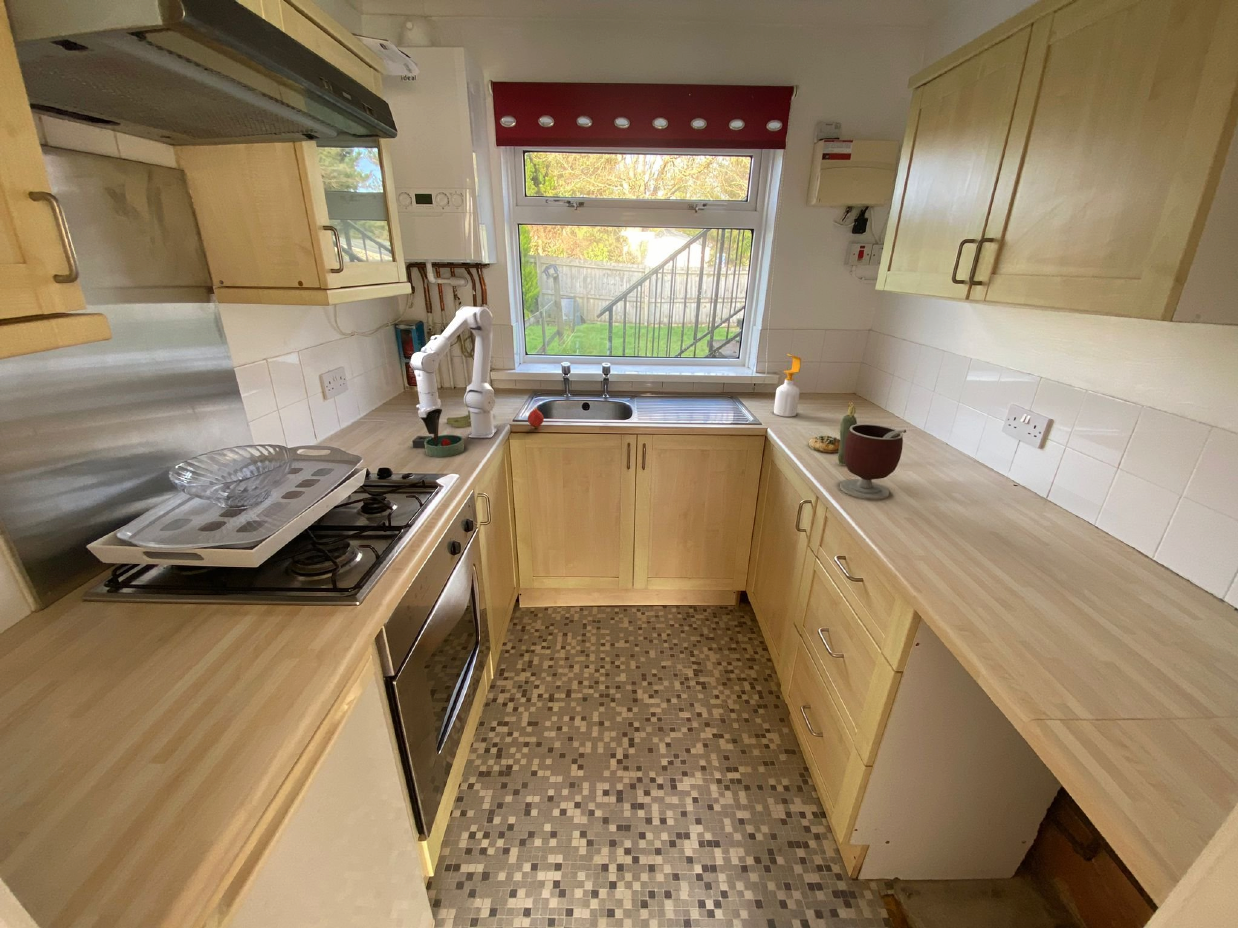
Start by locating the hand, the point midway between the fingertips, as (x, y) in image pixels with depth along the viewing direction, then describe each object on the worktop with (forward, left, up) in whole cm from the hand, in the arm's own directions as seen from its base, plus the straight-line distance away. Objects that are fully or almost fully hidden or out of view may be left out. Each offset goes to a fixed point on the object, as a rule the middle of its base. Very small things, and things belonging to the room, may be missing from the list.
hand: (433, 432), depth 164 cm
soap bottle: (-49, +129, -7) cm, 138 cm away
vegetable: (+9, +129, -7) cm, 129 cm away
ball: (-2, +3, -4) cm, 5 cm away
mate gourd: (+28, +128, -7) cm, 131 cm away
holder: (-6, -6, -6) cm, 11 cm away
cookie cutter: (-35, +2, -7) cm, 35 cm away
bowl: (-1, +3, -6) cm, 7 cm away
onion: (-26, +29, -7) cm, 39 cm away
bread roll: (-7, +130, -7) cm, 130 cm away
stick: (0, 0, -5) cm, 5 cm away
